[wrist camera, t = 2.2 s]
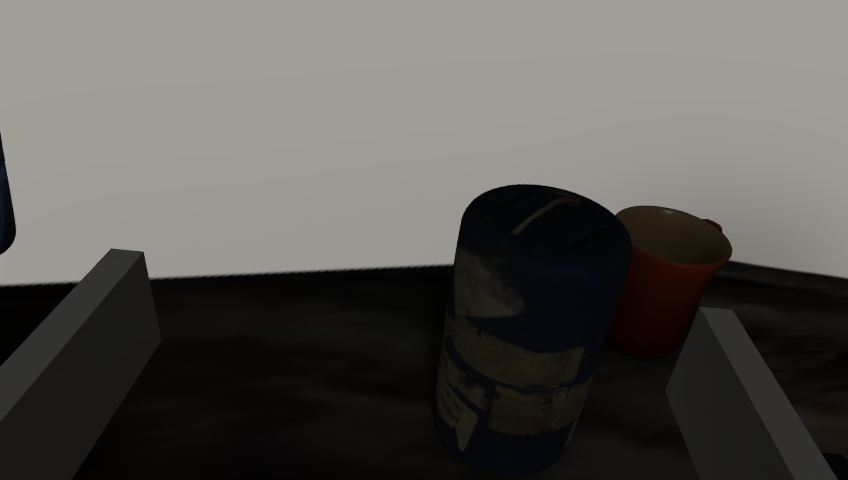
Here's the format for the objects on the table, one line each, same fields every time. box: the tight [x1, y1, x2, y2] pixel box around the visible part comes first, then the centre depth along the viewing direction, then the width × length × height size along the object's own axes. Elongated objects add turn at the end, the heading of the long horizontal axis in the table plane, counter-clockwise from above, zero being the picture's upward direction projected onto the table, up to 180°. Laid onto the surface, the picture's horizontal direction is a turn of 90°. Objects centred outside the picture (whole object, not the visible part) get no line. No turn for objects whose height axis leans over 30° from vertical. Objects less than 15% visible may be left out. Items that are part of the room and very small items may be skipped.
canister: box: [434, 184, 632, 477], centre depth 36 cm, size 10×10×18 cm
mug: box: [605, 206, 732, 358], centre depth 49 cm, size 12×9×10 cm
